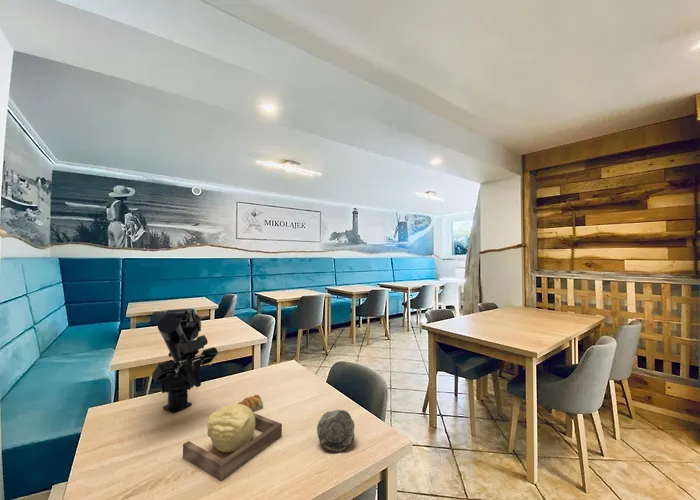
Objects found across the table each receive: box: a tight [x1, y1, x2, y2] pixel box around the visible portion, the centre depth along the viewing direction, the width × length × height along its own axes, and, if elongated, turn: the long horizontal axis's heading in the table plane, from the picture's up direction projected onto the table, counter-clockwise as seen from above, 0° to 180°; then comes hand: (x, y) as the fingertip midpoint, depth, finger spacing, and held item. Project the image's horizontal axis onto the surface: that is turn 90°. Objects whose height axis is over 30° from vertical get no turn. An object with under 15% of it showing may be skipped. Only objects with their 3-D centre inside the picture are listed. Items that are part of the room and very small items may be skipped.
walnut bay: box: [182, 412, 283, 482], centre depth 82 cm, size 16×20×4 cm
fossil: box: [316, 409, 355, 453], centre depth 85 cm, size 11×9×10 cm
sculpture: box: [206, 403, 256, 453], centre depth 83 cm, size 11×12×11 cm
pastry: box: [237, 394, 264, 413], centre depth 102 cm, size 9×7×4 cm
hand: (199, 386), depth 91 cm, fingers closed
